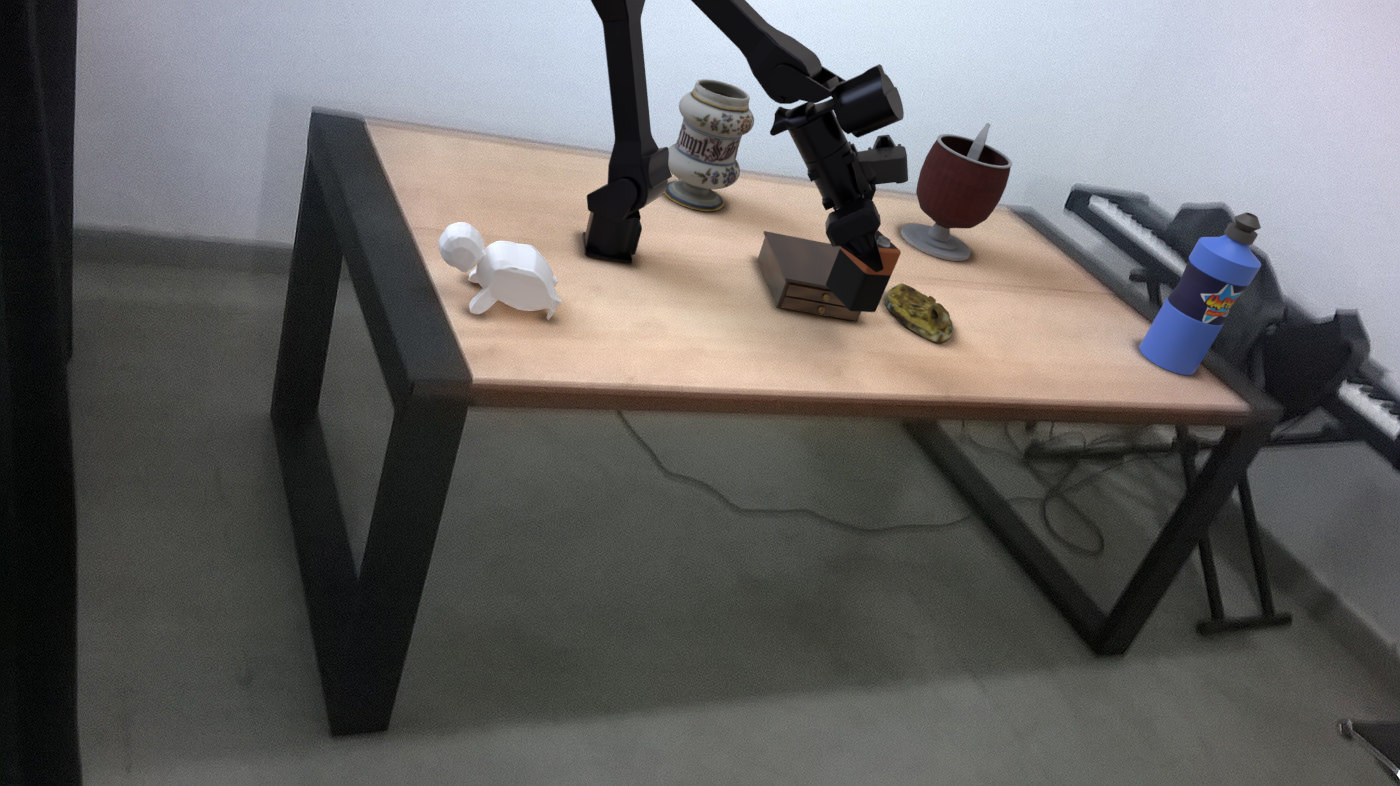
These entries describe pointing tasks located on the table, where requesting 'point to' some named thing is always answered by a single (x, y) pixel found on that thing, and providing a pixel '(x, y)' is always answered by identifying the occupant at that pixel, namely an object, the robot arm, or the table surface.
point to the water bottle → (1203, 298)
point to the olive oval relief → (919, 313)
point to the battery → (862, 277)
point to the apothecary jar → (708, 143)
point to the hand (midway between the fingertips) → (878, 257)
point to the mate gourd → (957, 192)
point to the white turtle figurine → (500, 270)
